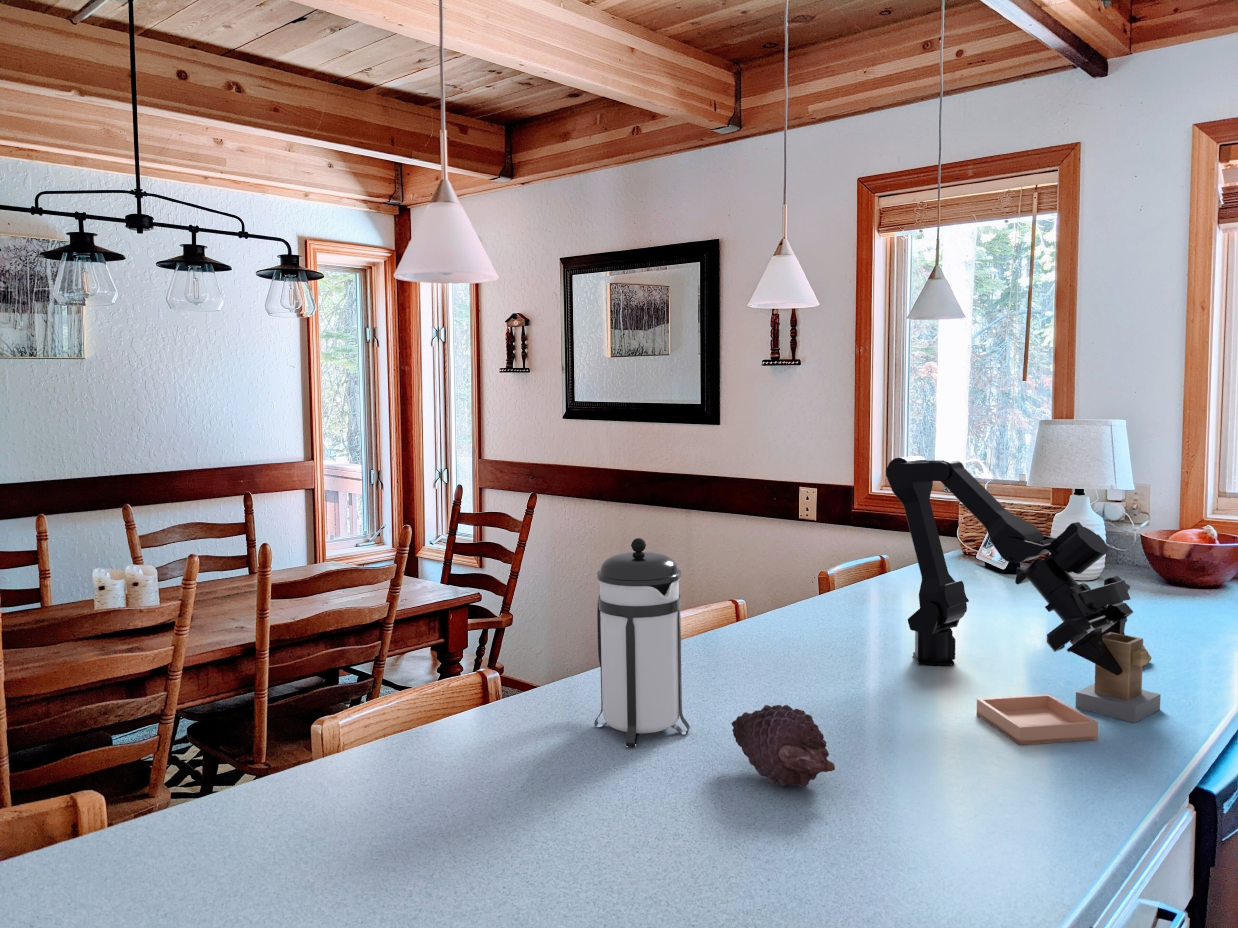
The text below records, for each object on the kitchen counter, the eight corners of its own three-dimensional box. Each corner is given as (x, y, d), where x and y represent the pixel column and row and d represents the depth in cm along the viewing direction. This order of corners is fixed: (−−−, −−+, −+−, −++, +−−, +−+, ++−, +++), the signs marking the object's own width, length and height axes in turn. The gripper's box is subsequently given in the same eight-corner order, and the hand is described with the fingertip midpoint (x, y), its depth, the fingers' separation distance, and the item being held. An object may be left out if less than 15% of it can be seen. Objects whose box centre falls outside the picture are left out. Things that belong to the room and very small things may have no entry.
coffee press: (701, 715, 143) (699, 531, 140) (675, 754, 128) (672, 548, 125) (600, 704, 149) (597, 527, 146) (564, 741, 134) (559, 544, 131)
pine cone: (710, 766, 124) (710, 696, 123) (763, 748, 129) (762, 682, 128) (804, 815, 109) (804, 736, 108) (858, 793, 115) (859, 718, 114)
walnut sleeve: (1094, 692, 143) (1096, 637, 142) (1108, 685, 146) (1110, 631, 145) (1135, 702, 138) (1137, 646, 137) (1149, 695, 141) (1151, 640, 140)
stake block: (1075, 706, 143) (1076, 667, 143) (1101, 694, 149) (1102, 656, 148) (1135, 722, 136) (1136, 681, 136) (1160, 709, 142) (1161, 668, 141)
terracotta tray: (976, 714, 141) (976, 698, 141) (1048, 709, 142) (1049, 694, 142) (1019, 744, 129) (1019, 727, 129) (1097, 739, 130) (1098, 722, 130)
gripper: (1067, 569, 138) (1141, 654, 130) (1122, 554, 149) (1193, 631, 142) (1018, 609, 145) (1085, 693, 137) (1073, 592, 156) (1138, 668, 148)
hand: (1127, 670), depth 141 cm, fingers closed on walnut sleeve, 5 cm apart
